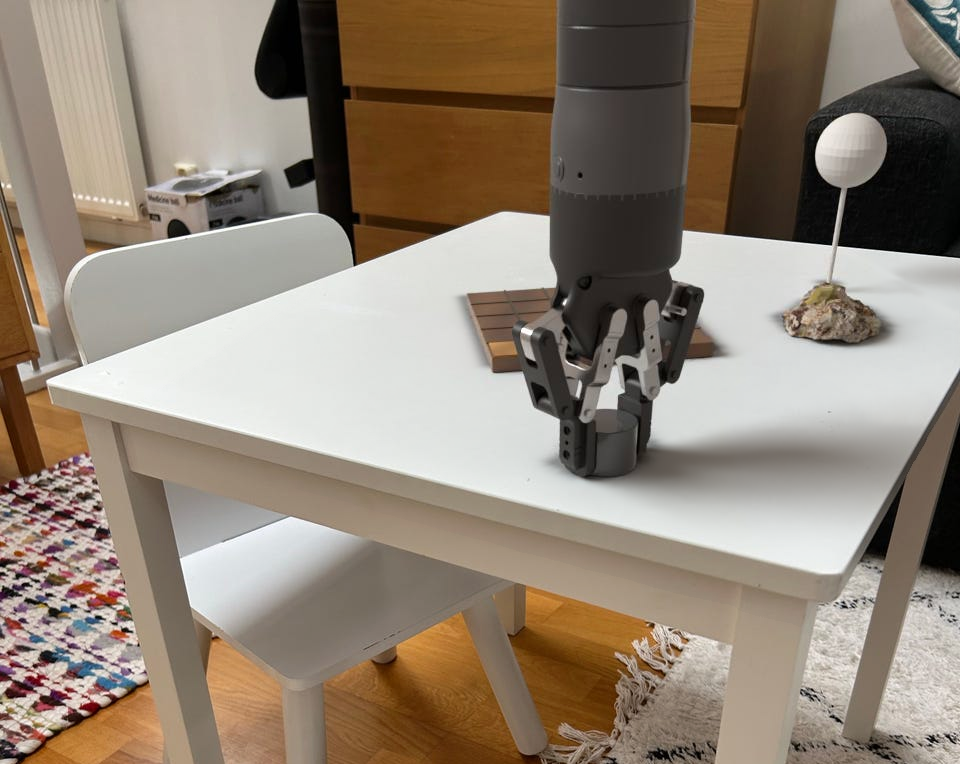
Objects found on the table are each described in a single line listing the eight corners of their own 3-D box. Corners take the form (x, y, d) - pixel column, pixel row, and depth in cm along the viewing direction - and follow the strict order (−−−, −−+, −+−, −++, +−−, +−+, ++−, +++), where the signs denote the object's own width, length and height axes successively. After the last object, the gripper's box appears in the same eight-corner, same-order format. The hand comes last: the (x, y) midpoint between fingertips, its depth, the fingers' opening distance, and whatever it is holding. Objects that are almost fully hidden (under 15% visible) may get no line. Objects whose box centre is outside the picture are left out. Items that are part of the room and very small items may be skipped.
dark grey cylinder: (627, 448, 66) (629, 406, 65) (642, 474, 63) (645, 430, 61) (568, 453, 66) (569, 410, 64) (580, 479, 63) (582, 435, 61)
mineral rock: (897, 321, 79) (800, 289, 79) (871, 372, 81) (777, 341, 82) (884, 287, 88) (797, 259, 88) (861, 334, 90) (776, 306, 90)
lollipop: (858, 302, 91) (893, 119, 82) (792, 298, 92) (819, 118, 84) (860, 284, 95) (893, 108, 87) (797, 280, 97) (823, 107, 88)
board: (653, 293, 95) (654, 279, 94) (712, 356, 80) (714, 340, 80) (467, 306, 93) (466, 292, 93) (492, 372, 79) (491, 356, 78)
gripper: (565, 205, 49) (559, 515, 59) (757, 165, 55) (723, 449, 65) (474, 184, 54) (483, 473, 64) (660, 149, 60) (642, 416, 70)
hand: (605, 460), depth 64 cm, fingers closed on dark grey cylinder, 4 cm apart
